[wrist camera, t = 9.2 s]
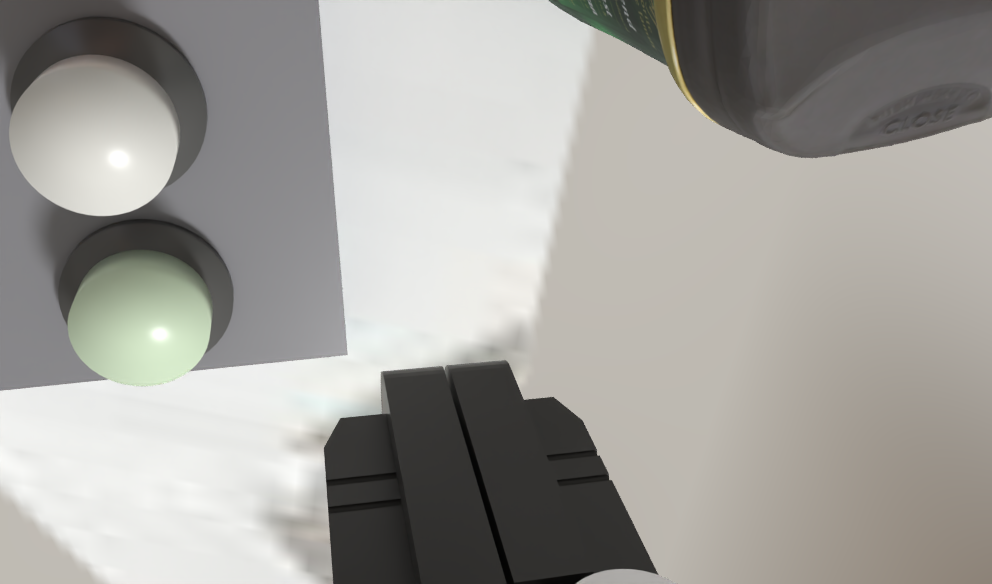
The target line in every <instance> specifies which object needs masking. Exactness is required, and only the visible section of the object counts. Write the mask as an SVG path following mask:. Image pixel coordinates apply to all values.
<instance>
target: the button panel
mask: <svg viewBox="0 0 992 584" xmlns="http://www.w3.org/2000/svg"><path fill="white" fill-rule="evenodd" d="M79 55H104V56H110V57H114V58H118V59H121V60H124V61H126V62H129V63H131V64H133V65H135V66H137V67H138V68H140V69H142V70H143V71H145V72H146V73H147V74H149V75H150V76H151V77H152V78H153V79H155V80H156V81H157V82H158V83H159V85H160V86H161V87H162V88H163V89H164V90H165V92H166V93H167V95H168V96H169V98H170V99H171V101H172V103H173V105H174V107H175V110H176V113H177V116H178V120H179V124H180V144H179V149H178V153H177V156H176V160H175V163H174V167H173V170H172V173H171V175H170V178H169V179H168V181H167V183H166V185H165V186H164V188H163V189H162V190H161V191H160V193H159V194H158V195H157V196H156V197H155V198H153V199H152V200H151V201H149V202H148V203H147V204H145V205H143V206H141V207H140V208H138V209H135V210H133V211H130V212H127V213H123V214H119V215H112V216H93V215H86V214H81V213H77V212H74V211H71V210H68V209H65V208H63V207H61V206H59V205H57V204H55V203H53V202H51V201H50V200H48V199H47V198H45V197H44V196H43V195H41V194H40V193H39V192H38V191H37V190H36V189H35V188H34V187H32V186H31V184H30V183H29V182H28V181H27V180H26V179H25V177H24V176H23V174H22V173H21V171H20V170H19V168H18V166H17V164H16V162H15V160H14V157H13V154H12V151H11V146H10V140H9V127H10V119H11V116H12V113H13V110H14V108H15V106H16V103H17V102H18V100H19V99H20V97H21V96H22V94H23V93H24V92H25V91H26V90H27V88H28V87H29V86H30V85H31V84H32V83H33V82H34V80H35V79H36V78H37V77H38V76H39V75H40V74H41V73H42V72H43V71H44V70H46V69H47V68H48V67H50V66H51V65H53V64H55V63H57V62H59V61H61V60H64V59H66V58H70V57H74V56H79ZM130 250H153V251H158V252H162V253H165V254H169V255H171V256H174V257H176V258H178V259H180V260H181V261H183V262H185V263H186V264H188V265H189V266H190V267H192V268H193V269H194V270H195V271H196V272H197V273H198V274H199V275H200V277H201V278H202V279H203V280H204V282H205V284H206V285H207V287H208V290H209V292H210V294H211V299H212V305H213V314H212V323H211V330H210V338H209V343H208V346H207V349H206V351H205V353H204V355H203V357H202V358H201V360H200V361H199V362H198V363H197V365H196V366H195V367H193V368H192V369H191V370H190V371H196V370H205V369H215V368H225V367H234V366H244V365H254V364H264V363H273V362H283V361H293V360H303V359H312V358H322V357H332V356H341V355H348V354H347V342H346V330H345V318H344V306H343V294H342V282H341V270H340V257H339V245H338V233H337V221H336V209H335V197H334V185H333V173H332V161H331V149H330V136H329V124H328V112H327V100H326V88H325V76H324V64H323V52H322V40H321V27H320V15H319V3H318V0H0V391H1V390H11V389H20V388H30V387H40V386H50V385H59V384H69V383H79V382H89V381H98V380H108V379H107V378H105V377H103V376H101V375H99V374H97V373H96V372H94V371H93V370H92V369H90V368H89V367H88V366H87V365H86V364H85V363H84V362H83V361H82V360H81V359H80V358H79V356H78V355H77V353H76V352H75V350H74V348H73V346H72V344H71V341H70V338H69V334H68V316H69V312H70V309H71V306H72V303H73V301H74V299H75V296H76V294H77V291H78V289H79V286H80V284H81V282H82V280H83V278H84V277H85V275H86V274H87V273H88V271H89V270H90V269H91V268H92V267H93V266H95V265H96V264H97V263H99V262H100V261H101V260H103V259H105V258H107V257H109V256H111V255H114V254H116V253H120V252H124V251H130Z"/></svg>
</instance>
